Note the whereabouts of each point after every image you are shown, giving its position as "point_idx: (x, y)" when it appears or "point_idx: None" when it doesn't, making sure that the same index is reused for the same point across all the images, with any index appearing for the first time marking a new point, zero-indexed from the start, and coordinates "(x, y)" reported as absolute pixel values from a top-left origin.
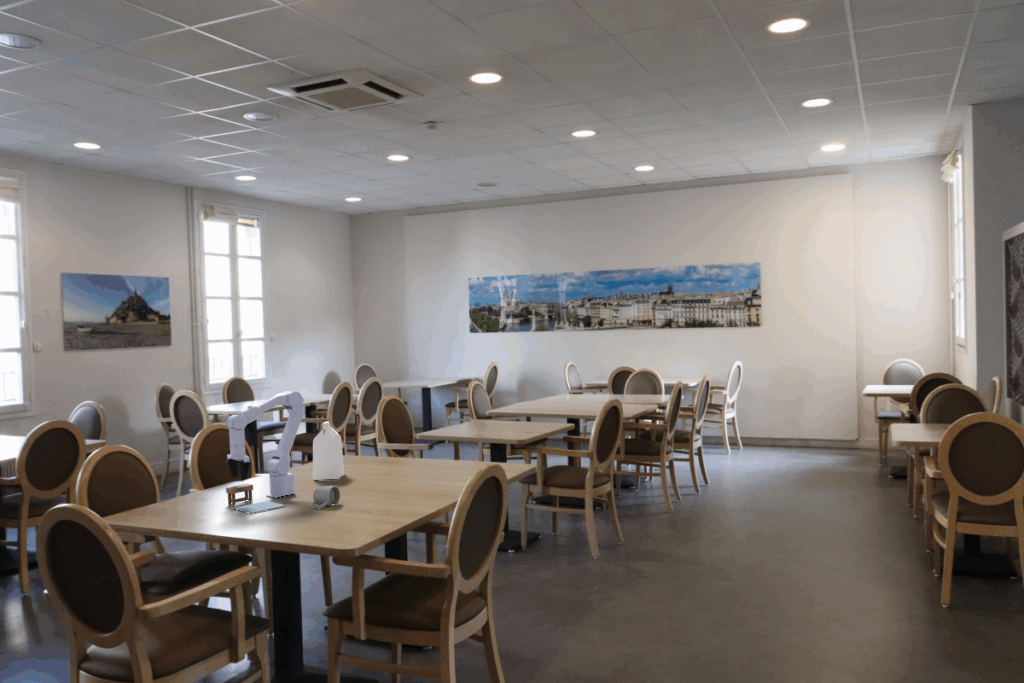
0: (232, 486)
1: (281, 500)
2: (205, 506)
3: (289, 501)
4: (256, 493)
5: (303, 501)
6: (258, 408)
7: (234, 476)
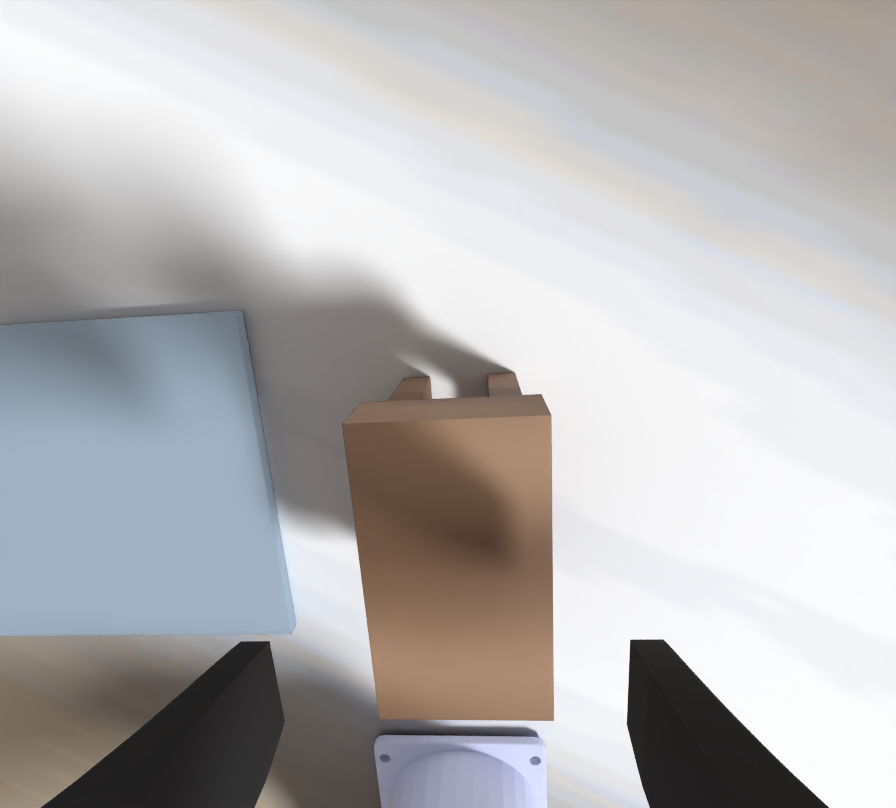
0: (541, 517)
1: None
2: (689, 168)
3: None
4: None
5: None
6: None
7: (633, 695)
